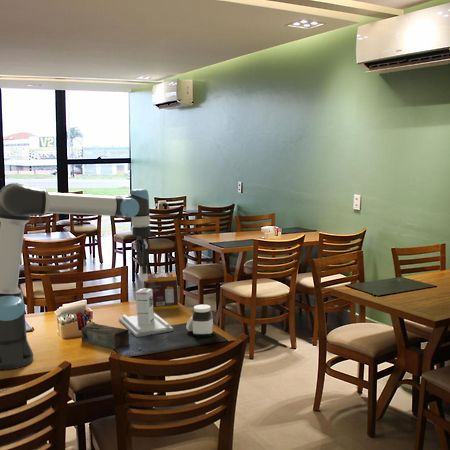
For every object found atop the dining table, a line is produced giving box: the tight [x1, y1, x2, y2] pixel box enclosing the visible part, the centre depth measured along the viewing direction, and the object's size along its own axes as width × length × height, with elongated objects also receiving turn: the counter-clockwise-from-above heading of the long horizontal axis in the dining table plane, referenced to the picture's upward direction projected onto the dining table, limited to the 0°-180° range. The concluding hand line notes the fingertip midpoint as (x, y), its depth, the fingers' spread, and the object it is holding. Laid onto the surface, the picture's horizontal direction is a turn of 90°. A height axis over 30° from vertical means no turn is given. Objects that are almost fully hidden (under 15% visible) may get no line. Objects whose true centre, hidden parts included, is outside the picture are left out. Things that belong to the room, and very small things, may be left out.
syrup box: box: [135, 287, 155, 325], centre depth 242 cm, size 6×6×14 cm
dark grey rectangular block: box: [80, 323, 130, 350], centre depth 223 cm, size 8×19×7 cm, turn 57°
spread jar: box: [185, 304, 214, 338], centre depth 231 cm, size 12×11×12 cm
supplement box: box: [143, 271, 179, 311], centre depth 273 cm, size 10×15×16 cm
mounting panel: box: [118, 312, 174, 338], centre depth 244 cm, size 26×16×3 cm, turn 26°
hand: (144, 280), depth 241 cm, fingers closed
